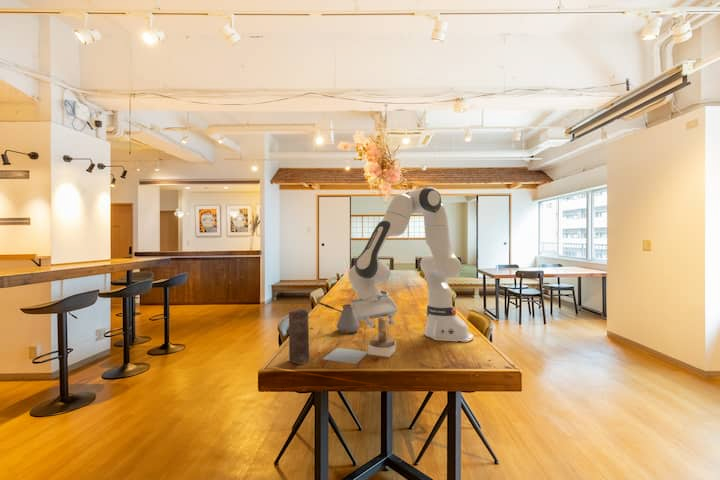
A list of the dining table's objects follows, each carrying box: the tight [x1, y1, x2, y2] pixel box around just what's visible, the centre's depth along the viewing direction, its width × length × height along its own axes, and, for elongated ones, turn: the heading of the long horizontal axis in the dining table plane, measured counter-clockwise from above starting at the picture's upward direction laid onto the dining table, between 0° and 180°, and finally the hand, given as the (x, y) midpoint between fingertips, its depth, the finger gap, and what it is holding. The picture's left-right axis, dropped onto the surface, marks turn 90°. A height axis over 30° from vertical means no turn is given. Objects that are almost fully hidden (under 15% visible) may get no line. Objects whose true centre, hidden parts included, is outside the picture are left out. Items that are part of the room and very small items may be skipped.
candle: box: [288, 308, 310, 365], centre depth 129 cm, size 8×7×20 cm
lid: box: [369, 317, 396, 348], centre depth 139 cm, size 10×10×10 cm
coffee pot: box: [316, 301, 360, 334], centre depth 171 cm, size 21×12×15 cm, turn 97°
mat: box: [322, 347, 368, 365], centre depth 135 cm, size 14×14×1 cm
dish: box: [367, 341, 397, 358], centre depth 139 cm, size 9×9×4 cm
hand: (383, 325), depth 139 cm, fingers open, 8 cm apart
